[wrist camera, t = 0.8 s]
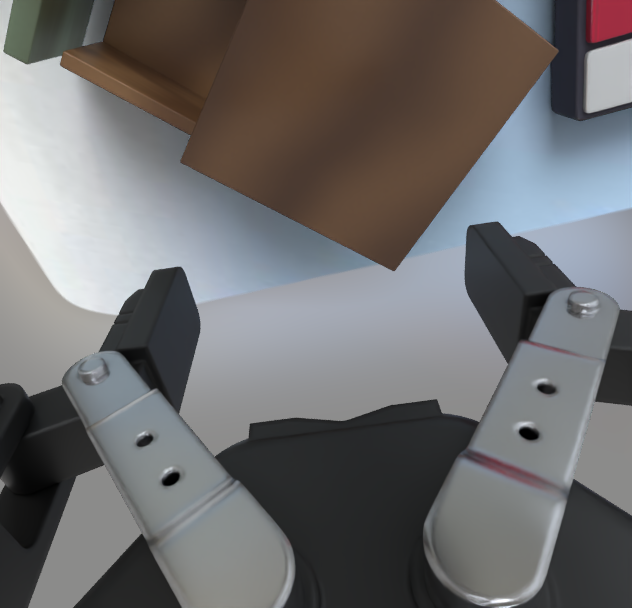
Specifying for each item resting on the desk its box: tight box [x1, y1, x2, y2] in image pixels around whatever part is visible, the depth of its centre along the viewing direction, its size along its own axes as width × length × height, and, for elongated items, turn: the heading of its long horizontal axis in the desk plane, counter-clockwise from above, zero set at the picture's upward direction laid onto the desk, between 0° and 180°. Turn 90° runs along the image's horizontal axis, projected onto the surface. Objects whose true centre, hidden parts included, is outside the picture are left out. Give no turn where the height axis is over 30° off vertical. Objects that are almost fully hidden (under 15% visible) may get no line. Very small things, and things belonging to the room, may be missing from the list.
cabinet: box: [180, 0, 559, 271], centre depth 29 cm, size 15×15×9 cm
